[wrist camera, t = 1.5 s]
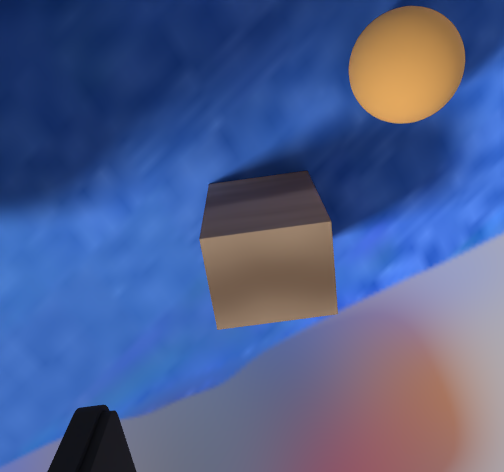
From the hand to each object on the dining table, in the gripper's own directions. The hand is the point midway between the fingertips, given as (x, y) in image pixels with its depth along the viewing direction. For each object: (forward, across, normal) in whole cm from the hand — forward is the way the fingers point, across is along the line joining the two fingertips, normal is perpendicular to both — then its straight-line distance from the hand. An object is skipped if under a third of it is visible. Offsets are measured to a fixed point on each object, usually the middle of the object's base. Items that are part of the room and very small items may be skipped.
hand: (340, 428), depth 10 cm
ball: (+17, -7, -6) cm, 19 cm away
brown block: (+20, +1, +2) cm, 20 cm away
